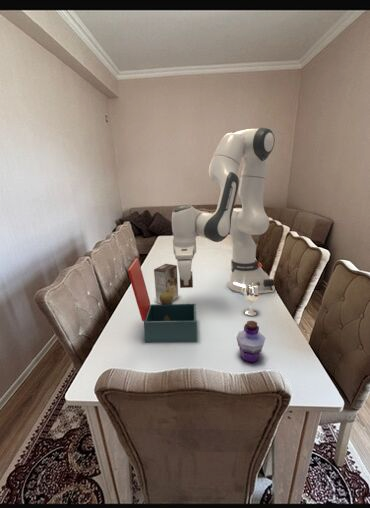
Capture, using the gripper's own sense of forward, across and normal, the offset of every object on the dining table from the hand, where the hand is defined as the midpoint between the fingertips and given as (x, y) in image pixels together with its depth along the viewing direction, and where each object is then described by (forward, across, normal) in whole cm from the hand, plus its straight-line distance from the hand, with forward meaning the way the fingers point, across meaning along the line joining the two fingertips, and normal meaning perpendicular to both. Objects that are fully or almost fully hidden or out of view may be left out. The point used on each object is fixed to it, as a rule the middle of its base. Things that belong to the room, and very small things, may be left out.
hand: (186, 281), depth 101 cm
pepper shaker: (+13, +6, -8) cm, 17 cm away
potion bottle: (+14, +28, +20) cm, 37 cm away
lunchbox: (+13, +14, -6) cm, 20 cm away
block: (+2, 0, 0) cm, 2 cm away
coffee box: (+14, -11, -10) cm, 20 cm away
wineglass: (+14, +2, +26) cm, 29 cm away
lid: (-4, +14, -15) cm, 21 cm away
